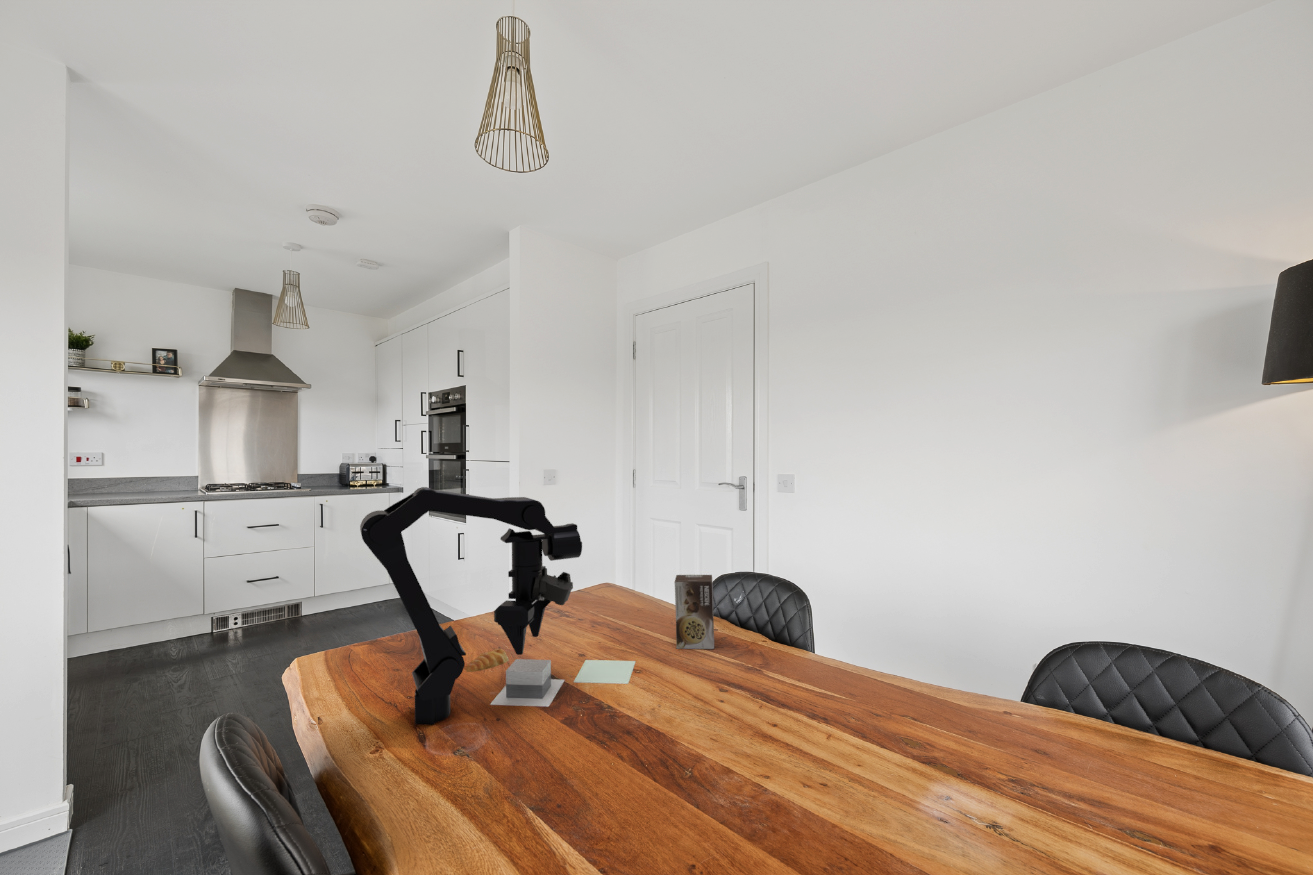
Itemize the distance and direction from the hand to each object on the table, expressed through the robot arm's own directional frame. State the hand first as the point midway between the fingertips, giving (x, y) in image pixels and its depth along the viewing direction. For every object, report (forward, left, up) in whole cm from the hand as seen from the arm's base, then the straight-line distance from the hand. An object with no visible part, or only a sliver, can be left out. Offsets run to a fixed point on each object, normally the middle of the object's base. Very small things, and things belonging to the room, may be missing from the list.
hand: (528, 645), depth 105 cm
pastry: (+13, +13, -11) cm, 22 cm away
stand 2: (+10, -13, -10) cm, 19 cm away
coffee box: (+30, -31, -11) cm, 45 cm away
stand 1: (0, 0, -10) cm, 10 cm away
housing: (0, 0, -9) cm, 9 cm away
